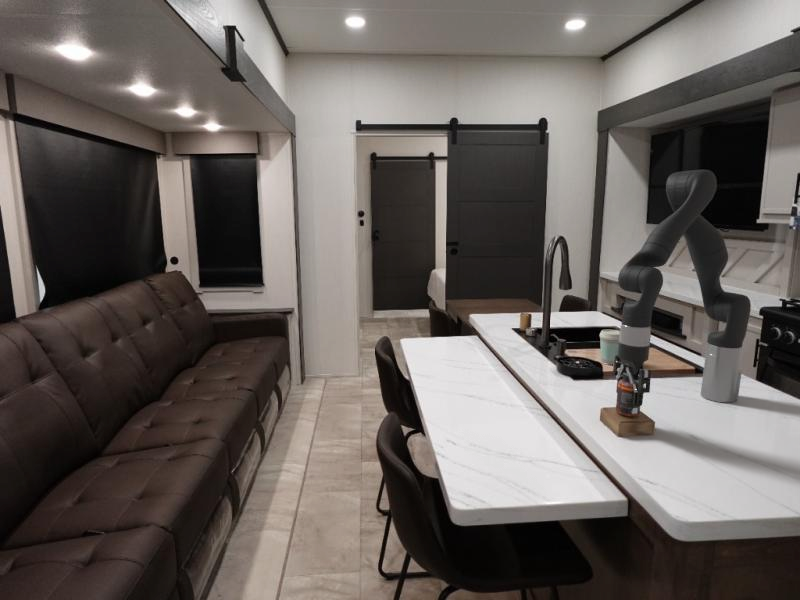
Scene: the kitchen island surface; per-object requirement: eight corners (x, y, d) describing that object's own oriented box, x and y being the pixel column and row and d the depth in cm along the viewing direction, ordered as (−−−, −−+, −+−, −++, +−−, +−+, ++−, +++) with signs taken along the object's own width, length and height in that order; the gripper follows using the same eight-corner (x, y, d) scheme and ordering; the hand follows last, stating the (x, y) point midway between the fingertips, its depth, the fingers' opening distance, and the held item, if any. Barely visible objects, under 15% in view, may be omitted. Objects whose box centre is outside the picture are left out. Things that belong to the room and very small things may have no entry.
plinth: (633, 419, 150) (634, 405, 149) (653, 434, 140) (655, 420, 140) (599, 420, 149) (600, 407, 148) (617, 436, 139) (619, 422, 138)
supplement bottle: (641, 418, 141) (645, 378, 138) (617, 416, 142) (621, 376, 139) (636, 410, 146) (640, 370, 144) (613, 408, 147) (617, 369, 145)
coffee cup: (623, 361, 201) (626, 331, 199) (619, 367, 194) (622, 336, 192) (599, 357, 206) (602, 327, 203) (594, 363, 198) (597, 332, 196)
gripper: (663, 348, 133) (657, 409, 137) (633, 333, 147) (628, 389, 150) (635, 349, 133) (629, 410, 136) (607, 334, 146) (602, 390, 150)
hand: (628, 399), depth 143 cm, fingers open, 8 cm apart
